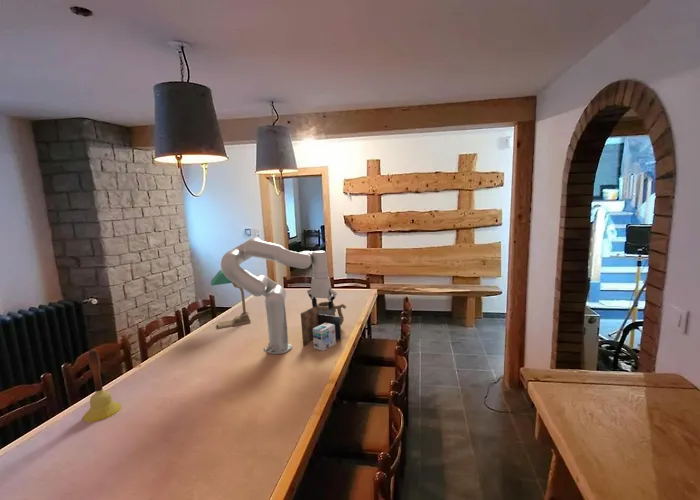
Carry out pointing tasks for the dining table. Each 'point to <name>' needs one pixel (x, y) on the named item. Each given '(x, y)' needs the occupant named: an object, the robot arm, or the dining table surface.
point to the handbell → (99, 394)
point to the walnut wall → (309, 324)
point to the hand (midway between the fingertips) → (322, 307)
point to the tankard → (331, 310)
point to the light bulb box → (324, 336)
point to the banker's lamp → (244, 317)
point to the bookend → (331, 320)
